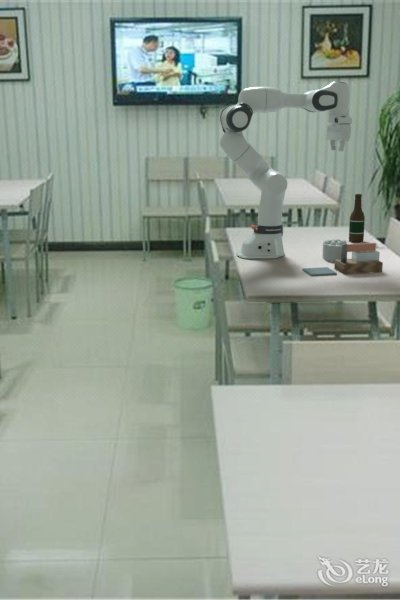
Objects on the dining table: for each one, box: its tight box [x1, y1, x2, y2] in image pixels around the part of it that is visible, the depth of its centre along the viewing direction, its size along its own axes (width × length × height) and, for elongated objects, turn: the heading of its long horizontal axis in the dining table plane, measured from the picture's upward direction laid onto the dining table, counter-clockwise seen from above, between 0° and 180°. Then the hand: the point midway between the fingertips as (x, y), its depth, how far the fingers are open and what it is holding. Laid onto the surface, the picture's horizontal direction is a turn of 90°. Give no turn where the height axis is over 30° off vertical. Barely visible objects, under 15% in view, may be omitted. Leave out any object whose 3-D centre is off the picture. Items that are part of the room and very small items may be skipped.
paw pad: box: [322, 238, 348, 263], centre depth 310 cm, size 10×13×9 cm
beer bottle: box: [348, 193, 365, 244], centre depth 349 cm, size 8×8×24 cm
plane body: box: [333, 258, 384, 275], centre depth 288 cm, size 17×10×4 cm, turn 100°
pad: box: [302, 266, 338, 277], centre depth 286 cm, size 11×11×1 cm
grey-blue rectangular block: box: [351, 250, 380, 263], centre depth 288 cm, size 10×5×4 cm, turn 100°
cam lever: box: [341, 242, 377, 262], centre depth 287 cm, size 15×2×7 cm, turn 100°
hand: (337, 150), depth 314 cm, fingers open, 8 cm apart
